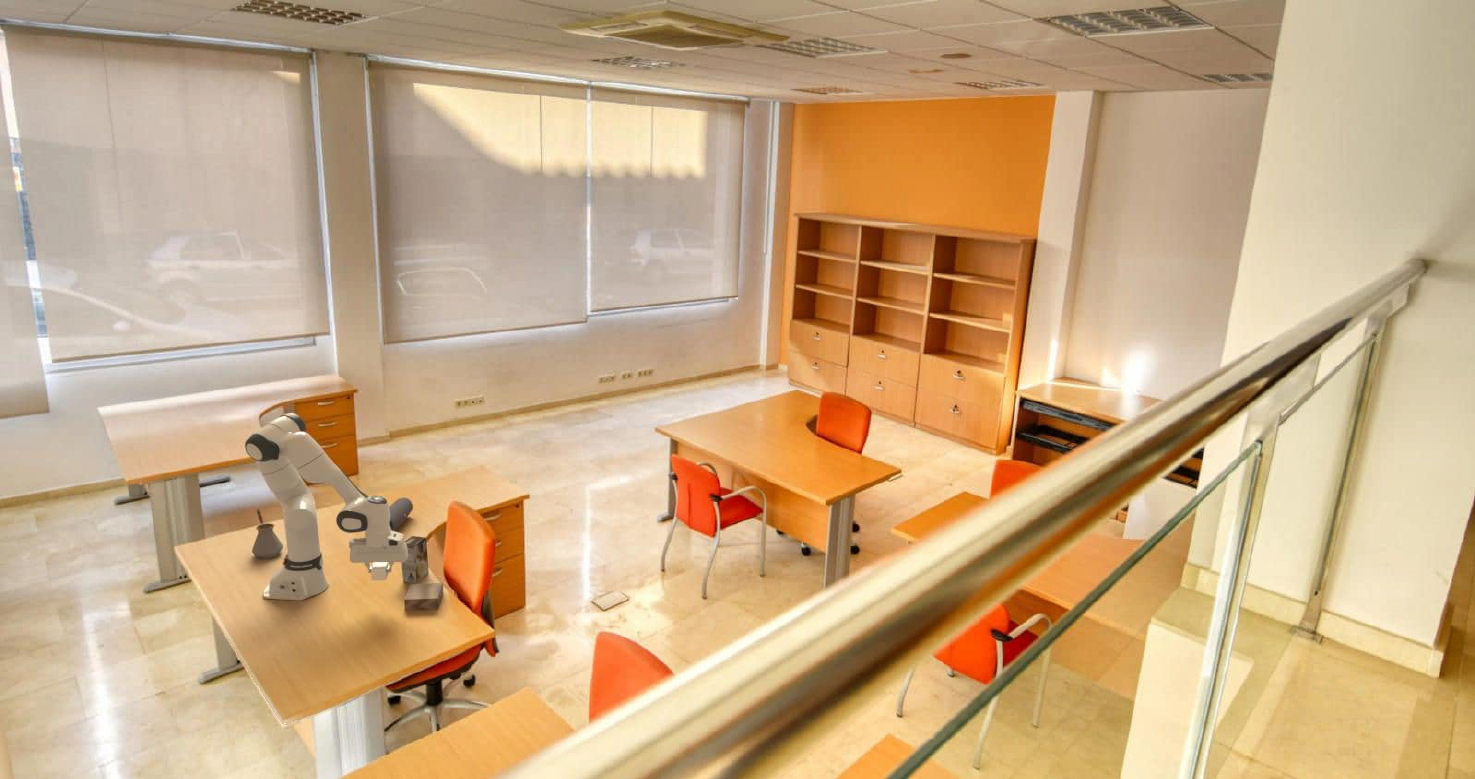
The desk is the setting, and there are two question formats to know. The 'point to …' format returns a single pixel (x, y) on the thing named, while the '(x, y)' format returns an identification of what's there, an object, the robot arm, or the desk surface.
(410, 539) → the coffee box
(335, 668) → the desk surface
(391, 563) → the robot arm
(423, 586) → the walnut block
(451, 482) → the desk surface
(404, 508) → the bluetooth speaker
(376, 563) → the white cube
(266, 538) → the coffee pot
